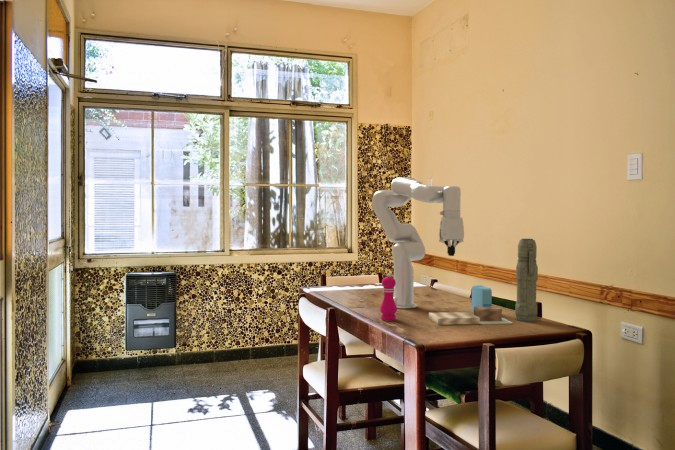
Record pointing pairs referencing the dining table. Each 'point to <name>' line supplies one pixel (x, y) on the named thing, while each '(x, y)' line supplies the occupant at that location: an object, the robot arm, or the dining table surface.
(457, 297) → the dining table surface
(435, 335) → the dining table surface
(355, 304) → the dining table surface
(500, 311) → the walnut box
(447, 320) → the board
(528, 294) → the stone moai statue
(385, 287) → the pepper mill
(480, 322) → the mat
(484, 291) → the data package
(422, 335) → the dining table surface
